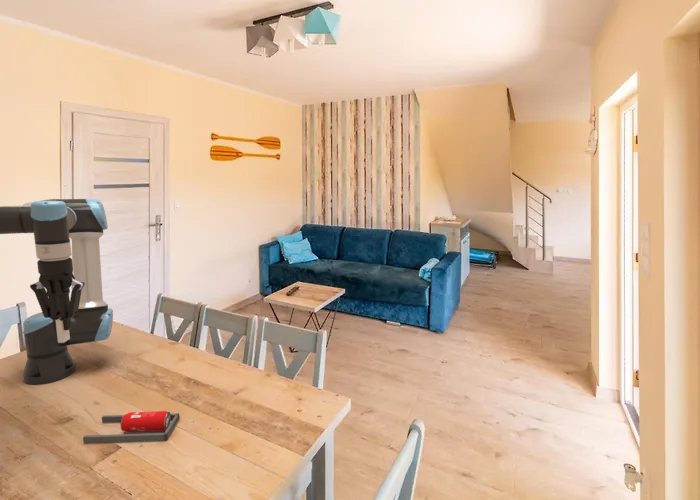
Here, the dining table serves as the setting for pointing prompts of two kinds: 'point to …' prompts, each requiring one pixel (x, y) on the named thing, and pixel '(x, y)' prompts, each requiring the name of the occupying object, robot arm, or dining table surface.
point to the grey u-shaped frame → (131, 437)
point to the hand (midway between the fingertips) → (64, 340)
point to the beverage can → (145, 421)
